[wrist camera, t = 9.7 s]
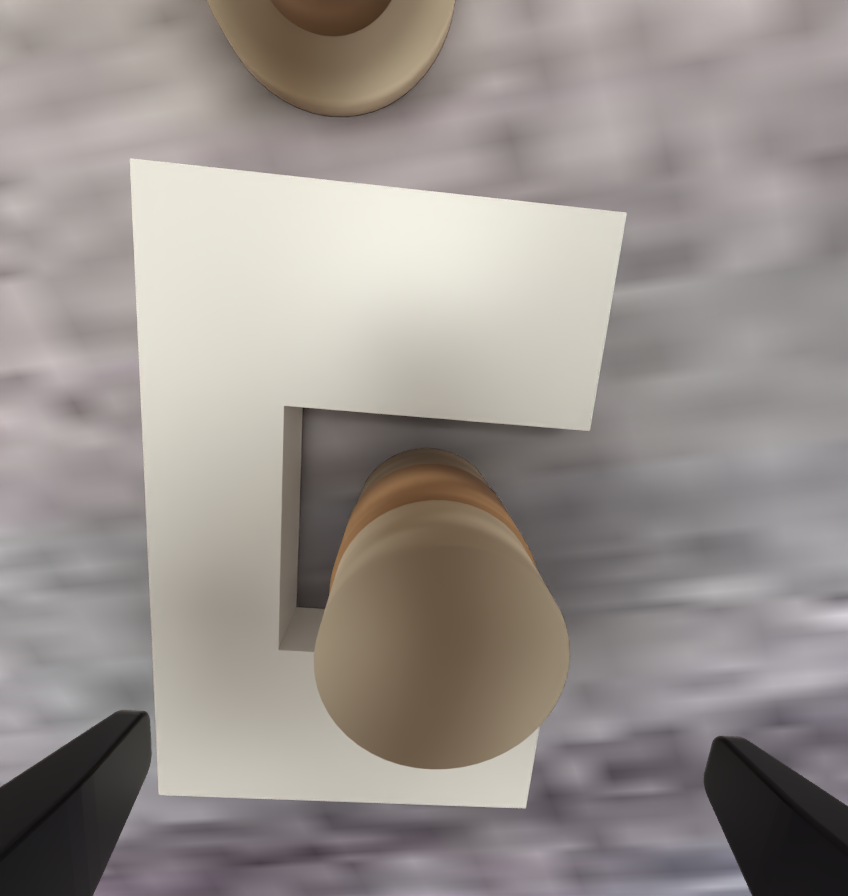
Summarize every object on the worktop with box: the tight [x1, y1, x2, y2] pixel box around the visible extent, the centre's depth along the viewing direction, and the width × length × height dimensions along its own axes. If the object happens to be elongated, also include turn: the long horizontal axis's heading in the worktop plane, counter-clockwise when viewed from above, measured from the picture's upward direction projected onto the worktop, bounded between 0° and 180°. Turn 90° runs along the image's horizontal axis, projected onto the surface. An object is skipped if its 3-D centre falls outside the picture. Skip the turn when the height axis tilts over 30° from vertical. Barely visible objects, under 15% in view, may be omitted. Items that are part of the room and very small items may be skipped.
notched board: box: [130, 158, 627, 808], centre depth 15 cm, size 13×20×2 cm, turn 175°
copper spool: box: [314, 448, 570, 769], centre depth 13 cm, size 5×5×8 cm
